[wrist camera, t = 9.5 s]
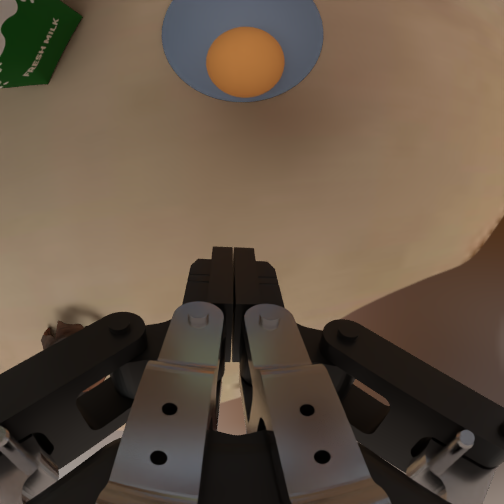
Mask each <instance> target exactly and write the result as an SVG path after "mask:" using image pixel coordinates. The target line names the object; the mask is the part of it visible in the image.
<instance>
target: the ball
mask: <svg viewBox="0 0 504 504" xmlns="http://www.w3.org/2000/svg"><path fill="white" fill-rule="evenodd" d="M284 65H285V59H284V53H283V51H282V48H281V46H280V44H279V43H278V42H277V40H276V39H275V38H274V37H273V36H271V35H270V34H269V33H267V32H265V31H263V30H261V29H258V28H254V27H237V28H233V29H230V30H228V31H226V32H224V33H223V34H221V35H220V36H218V37H217V38H216V39H215V40H214V42H213V43H212V44H211V46H210V48H209V50H208V53H207V57H206V68H207V72H208V75H209V77H210V79H211V80H212V82H213V83H214V84H215V85H216V86H217V87H218V88H219V89H220V90H221V91H223V92H225V93H227V94H229V95H231V96H235V97H241V98H249V97H255V96H259V95H261V94H264V93H266V92H267V91H269V90H270V89H272V88H273V87H274V86H275V85H276V84H277V82H278V81H279V80H280V78H281V76H282V73H283V71H284Z"/></svg>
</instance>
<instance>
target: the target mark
mask: <svg viewBox="0 0 504 504" xmlns="http://www.w3.org/2000/svg"><path fill="white" fill-rule="evenodd" d="M237 27H254V28H258V29H261V30H263V31H265V32H267V33H269V34H270V35H271V36H273V37H274V38H275V39H276V40H277V42H278V43H279V44H280V46H281V48H282V51H283V53H284V59H285V65H284V71H283V73H282V76H281V78H280V80H279V81H278V82H277V84H276V85H275V86H274V87H273V88H272V89H270V90H269V91H267V92H266V93H264V94H261V95H259V96H255V97H249V98H241V97H235V96H231V95H229V94H227V93H225V92H223V91H221V90H220V89H219V88H218V87H217V86H216V85H215V84H214V83H213V82H212V80H211V79H210V77H209V75H208V72H207V68H206V57H207V53H208V50H209V48H210V46H211V44H212V43H213V42H214V40H215V39H216V38H217V37H218V36H220V35H221V34H223V33H224V32H226V31H228V30H230V29H233V28H237ZM162 43H163V48H164V52H165V55H166V57H167V60H168V62H169V64H170V65H171V67H172V68H173V70H174V71H175V72H176V74H177V75H178V76H179V77H180V78H181V79H182V80H183V81H184V82H186V83H187V84H188V85H189V86H191V87H192V88H194V89H195V90H197V91H199V92H201V93H203V94H205V95H208V96H210V97H213V98H216V99H221V100H225V101H233V102H252V101H260V100H264V99H268V98H271V97H274V96H277V95H280V94H282V93H284V92H286V91H288V90H289V89H291V88H292V87H294V86H296V85H297V84H298V83H299V82H300V81H302V80H303V79H304V78H305V77H306V76H307V75H308V73H309V72H310V71H311V70H312V68H313V67H314V65H315V64H316V62H317V60H318V57H319V55H320V52H321V49H322V43H323V25H322V20H321V17H320V14H319V11H318V9H317V7H316V5H315V4H314V2H313V1H312V0H173V1H172V2H171V4H170V6H169V8H168V10H167V12H166V15H165V18H164V21H163V26H162Z"/></svg>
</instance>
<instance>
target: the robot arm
mask: <svg viewBox="0 0 504 504" xmlns="http://www.w3.org/2000/svg"><path fill="white" fill-rule="evenodd" d="M231 339H232V362H240V375H239V385H240V392H241V398H242V405H243V412H244V418H245V425H246V434H245V435H238V436H237V435H230V434H226V433H222V432H218V431H217V426H218V416H219V406H220V397H221V387H222V377H223V375H224V371H225V362H230V359H231ZM109 374H110V377H109V378H108V379H106V380H105V381H103V382H102V383H100V384H99V385H97V386H96V387H94V388H92V389H91V390H89V391H88V392H86V393H85V394H83V395H82V396H80V397H78V396H79V394H80V393H81V392H83V391H84V390H86V389H87V388H89V387H90V386H92V385H94V384H95V383H97V382H98V381H100V380H101V379H103V378H105V377H106V376H108V375H109ZM355 379H357V380H359V381H360V382H362V383H363V384H365V385H366V386H368V387H369V388H371V389H372V390H374V391H375V392H377V393H378V394H380V395H381V396H383V397H384V398H386V399H387V401H388V402H389V404H390V406H386V405H384V404H382V403H381V402H379V401H378V400H376V399H375V398H373V397H372V396H370V395H368V394H367V393H365V392H364V391H362V390H361V389H360V388H358V387H356V386H355V385H354V384H353V382H354V380H355ZM77 397H78V398H77ZM125 423H126V426H125V429H124V432H123V435H122V438H119V439H117V440H114V441H112V442H111V443H109V444H107V445H105V446H104V447H103V448H101V449H100V450H99V451H97V452H96V453H95V454H93V455H92V456H91V457H89V458H88V459H87V460H85V461H84V462H83V463H81V464H80V465H79V466H77V467H76V468H75V469H73V470H72V471H71V472H69V473H68V474H67V475H65V476H64V477H63V478H61V479H59V471H58V470H59V469H61V468H62V467H64V466H65V465H67V464H68V463H69V462H71V461H72V460H74V459H76V458H77V457H78V456H80V455H81V454H83V453H84V452H86V451H87V450H89V449H90V448H91V447H93V446H94V445H96V444H97V443H99V442H100V441H102V440H103V439H104V438H106V437H107V436H108V435H110V434H111V433H113V432H114V431H116V430H117V429H118V428H120V427H121V426H122V425H124V424H125ZM357 441H358V442H359V443H358V442H357ZM360 443H361V444H360ZM379 456H380V457H379ZM382 458H383V459H382ZM385 460H386V461H385ZM387 461H388V462H389V463H391V464H392V465H394V466H396V467H397V468H399V469H400V470H402V471H404V472H405V473H406V474H404V473H403V472H401V471H400V470H398V469H397V468H395V467H394V466H392V465H391V464H389V463H388V462H387ZM502 462H504V408H503V407H502V406H500V405H498V404H496V403H494V402H493V401H491V400H489V399H488V398H486V397H484V396H482V395H480V394H479V393H477V392H475V391H474V390H472V389H470V388H468V387H467V386H465V385H463V384H461V383H460V382H458V381H456V380H455V379H453V378H451V377H449V376H448V375H446V374H444V373H442V372H440V371H439V370H437V369H435V368H434V367H432V366H430V365H429V364H427V363H425V362H423V361H422V360H420V359H418V358H417V357H415V356H413V355H411V354H410V353H408V352H406V351H405V350H403V349H401V348H399V347H398V346H396V345H394V344H393V343H391V342H389V341H387V340H386V339H384V338H382V337H380V336H379V335H377V334H376V333H374V332H372V331H370V330H369V329H367V328H365V327H364V326H362V325H360V324H358V323H356V322H354V321H350V320H343V319H340V320H333V321H331V322H329V323H327V324H326V325H325V327H324V329H323V331H321V330H316V329H312V328H307V327H304V326H301V325H299V324H297V323H296V322H295V319H294V317H293V315H292V314H291V313H290V312H289V311H288V310H287V309H285V308H284V304H283V300H282V296H281V292H280V288H279V285H278V280H277V276H276V272H275V269H274V268H273V267H272V266H271V265H270V264H269V263H268V262H264V261H256V260H255V254H254V248H238V247H234V254H233V250H232V247H213V251H212V259H198V260H196V261H195V262H194V263H193V264H192V265H191V268H190V272H189V276H188V282H187V285H186V290H185V295H184V299H183V304H182V305H181V306H180V307H178V308H177V309H176V310H175V312H174V314H173V317H172V319H171V320H169V321H166V322H163V323H159V324H152V325H145V323H144V321H143V319H142V318H141V317H140V316H138V315H136V314H134V313H130V312H117V313H112V314H110V315H107V316H105V317H103V318H102V319H100V320H98V321H96V322H94V323H92V324H91V325H89V326H87V327H85V328H83V329H81V330H80V331H78V332H76V333H74V334H72V335H70V336H69V337H67V338H65V339H63V340H61V341H59V342H58V343H56V344H54V345H52V346H50V347H49V348H47V349H45V350H43V351H41V352H40V353H38V354H36V355H34V356H32V357H30V358H29V359H27V360H25V361H23V362H22V363H20V364H18V365H16V366H14V367H13V368H11V369H9V370H7V371H5V372H4V373H2V374H0V504H482V503H483V501H484V499H485V496H486V494H487V491H488V489H489V486H490V484H491V481H492V479H493V476H494V473H495V470H496V468H497V467H498V466H499V465H500V464H501V463H502ZM58 479H59V480H58Z"/></svg>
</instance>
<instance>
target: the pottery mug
mask: <svg viewBox="0 0 504 504" xmlns="http://www.w3.org/2000/svg"><path fill="white" fill-rule="evenodd" d="M85 327H87V326H85ZM85 327H83V326H82V325H81V324H65V323H63V322H61V321H58V325H57V330H56V336H55V338H54V337H53V336H51V332H50V328H48V329H47V330H46V331H45V332H44V335H43V336H42V339H41V342H42V345H43V349H44V350H45V349H47V348H49V347H50V346H52V345H54V344H56V343H58V342H59V341H61V340H63V339H65V338H67V337H69V336H70V335H72V334H74V333H76V332H78V331H80V330H81V329H83V328H85ZM105 378H106V377H105ZM105 378H103V379H101V380H100V381H98V382H97V383H95V384H94V385H92V386H90V387H89V388H87V389H86V390H84V391H83V392H81V393H80V394H79V396H78V397H80V396H82V395H83V394H85V393H86V392H88V391H89V390H91V389H92V388H94V387H96V386H97V385H99V384H100V383H102V382H103V381H104V380H105ZM78 397H77V398H78Z"/></svg>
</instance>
